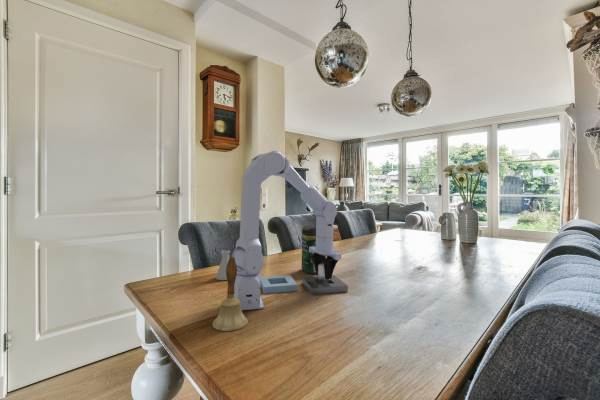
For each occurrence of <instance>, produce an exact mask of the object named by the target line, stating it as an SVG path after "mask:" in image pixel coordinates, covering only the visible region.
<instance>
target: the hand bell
mask: <svg viewBox="0 0 600 400" xmlns="http://www.w3.org/2000/svg"><path fill="white" fill-rule="evenodd" d="M236 276H237V265H236V262H235V257H232V256H229V261H228V263H227V267H226V277H227V280H226V281H227V293H226V298H225V299H222V301H221V302H220V308H219V312H218V315H217V317H216V318H215V319H214V320H213V322H212V324H211V326H212V327H213V328H214V330H216V331H221V332H232V331H239V330H242V329H243V328H245V327H246V326H247V325H248V323H249V320H248V318H247V317H246V316H245V315H244V313H243V310H241V306H240V300H239V299H236V298H235V279H236Z"/></svg>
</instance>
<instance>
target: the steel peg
mask: <svg viewBox="0 0 600 400" xmlns="http://www.w3.org/2000/svg"><path fill="white" fill-rule="evenodd" d="M318 284H330V279H325V269H324V264H323V263H318Z"/></svg>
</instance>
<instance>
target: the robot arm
mask: <svg viewBox="0 0 600 400" xmlns="http://www.w3.org/2000/svg"><path fill="white" fill-rule="evenodd" d="M250 160H251V161H250V163H249V165H248V166H247V168H246V169H245V171H244V173H243V174H242V179H241V199H240V201H241V202H240V203H241V204H240V223H239V238H238V239H237V240H236V242H235V248H234V251H233V253H232V256H231V257H235V262H236V265H237V276H236V279H235V284H234V290H235V291H234V292H235V293H234V297H235V298H236V299H239V300H240V306H241V311H249V310H250V311H251V310H258V309H259V310H260V309H261V310H262V309H264V308H265V306H264V302H263V300H262V298H261V286H260V277H261V271H262V269H263V268H264V266H265V257H264V255H263V252H262V249H263V247H262V244H261V242H260V239H259V234H260V216H261V215H260V213H261V193H262V191H261V189H262V183H264V182H265V181H266V180H267V179H268V178H269V177H272V176H276V177H281V178H283V179H285V180H286V181H287V182H288V183H289V184H290V185H291V186H292V187H294V188H295V189H296V190H297V191H299V193H300V199H301V200H302V201H303V202H304V203H305V204H306V205H307V206H308V207H310V208H311V211H312V214H313V215H314V216H315V217H316V218H315V223H316V225H315V226H316V247H314V246H312V247H309V252H310V253H312V252H313V253H314V254H313V255H311V256H310V257H311V259H312V261H313V263H314V266H315V270H316V276H318V263H323V264H324V269H325V279H331V278H332V275H333V273H334V269H335V268H336V266H337V263H338V262H339V261H340V260H342V252H341V253H340V252H338V251H337V250H336V249H335V248H334V222H335V220H336V219H335V218H336V217H337V214H338V209H337V207H336V205H335V203H334V202H333V201H329V200H328V198H327V197H326V196H325V195H324V194H322V193H321V191H319V187H318V186H316V185H313V184H310V185H309V184H308V183H307V181H305V180H304V179H303V177H302V176H301V175H300V174H299V173H298V172H297V170H295V168H294V167H293V166H292V165H291V163H290V160H289V159H288V158H287V157H285V156H284V154H283V153H282V152H281V151H278V150H271V151H269V152H265V153H260V154H258V155H256V156H254V157H253V158H251V159H250Z"/></svg>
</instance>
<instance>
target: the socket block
mask: <svg viewBox="0 0 600 400" xmlns="http://www.w3.org/2000/svg"><path fill="white" fill-rule="evenodd" d="M301 283H302V285H303V286H304V287H305V288H306V290H307V291H308V292H309V293H310V295H313V296H315V295H326V294H336V293H337V294H339V293H347V292H349V285H348V284H347V283H345V282H344V281H342V279H340V278H339V277H338V276H336V275H333V274H332V278H331V279H330V284H318V276H317V275H316V276H304V277H302V278H301Z"/></svg>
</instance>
